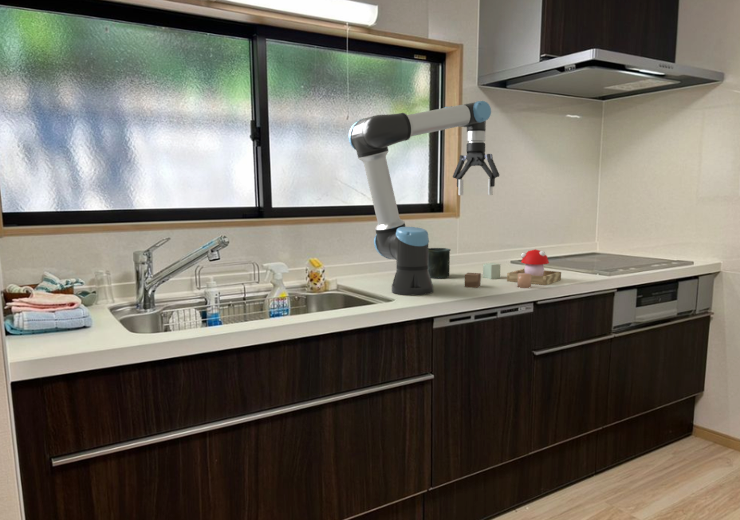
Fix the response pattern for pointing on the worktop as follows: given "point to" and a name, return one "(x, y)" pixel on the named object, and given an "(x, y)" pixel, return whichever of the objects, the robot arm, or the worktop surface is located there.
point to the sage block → (491, 271)
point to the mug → (438, 262)
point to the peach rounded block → (524, 280)
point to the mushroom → (534, 262)
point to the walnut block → (473, 280)
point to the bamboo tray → (536, 277)
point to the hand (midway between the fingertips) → (475, 195)
